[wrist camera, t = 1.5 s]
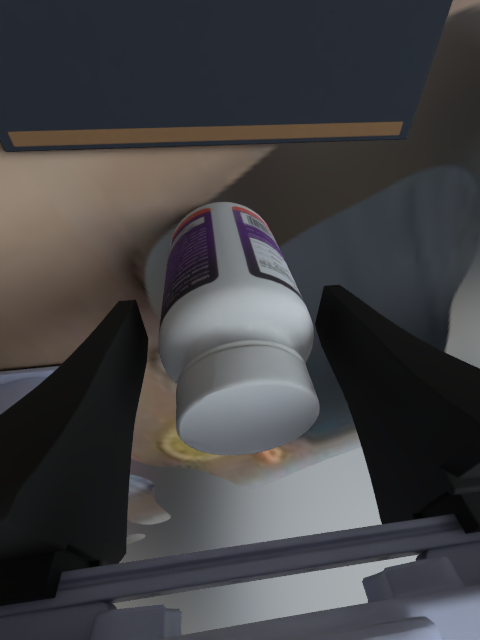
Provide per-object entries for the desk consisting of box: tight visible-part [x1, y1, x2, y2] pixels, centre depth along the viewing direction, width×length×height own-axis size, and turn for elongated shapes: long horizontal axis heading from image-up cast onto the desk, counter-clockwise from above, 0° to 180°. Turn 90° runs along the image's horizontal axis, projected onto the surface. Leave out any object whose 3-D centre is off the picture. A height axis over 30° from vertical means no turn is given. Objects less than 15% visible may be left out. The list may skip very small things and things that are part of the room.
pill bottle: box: [159, 202, 320, 455], centre depth 11 cm, size 5×5×10 cm
